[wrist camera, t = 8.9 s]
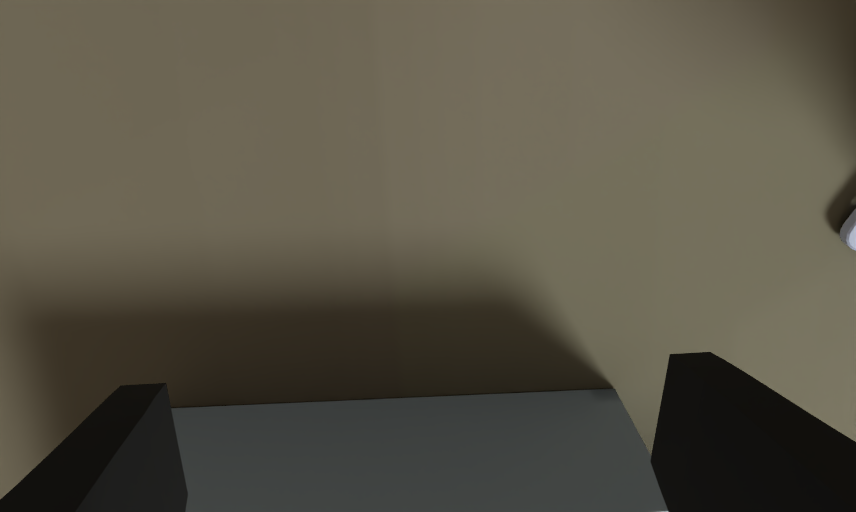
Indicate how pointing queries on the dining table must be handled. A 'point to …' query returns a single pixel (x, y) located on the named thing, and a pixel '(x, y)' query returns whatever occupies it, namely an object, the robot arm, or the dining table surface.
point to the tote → (419, 455)
